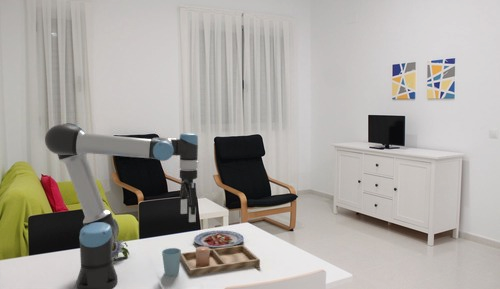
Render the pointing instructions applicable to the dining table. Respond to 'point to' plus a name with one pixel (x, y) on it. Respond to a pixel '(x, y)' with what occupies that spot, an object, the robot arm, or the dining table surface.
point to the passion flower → (119, 249)
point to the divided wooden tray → (221, 260)
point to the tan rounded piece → (202, 256)
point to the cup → (171, 261)
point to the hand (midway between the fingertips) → (187, 217)
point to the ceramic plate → (218, 238)
